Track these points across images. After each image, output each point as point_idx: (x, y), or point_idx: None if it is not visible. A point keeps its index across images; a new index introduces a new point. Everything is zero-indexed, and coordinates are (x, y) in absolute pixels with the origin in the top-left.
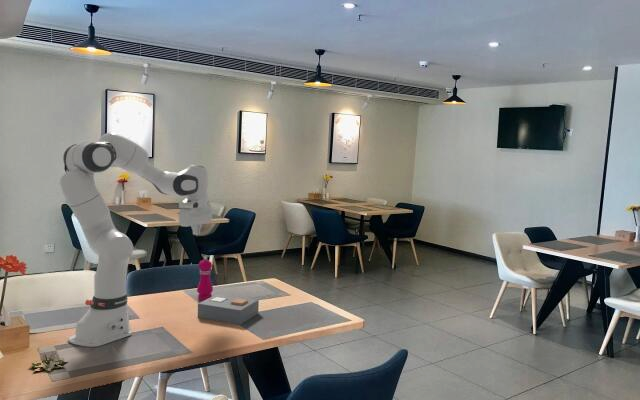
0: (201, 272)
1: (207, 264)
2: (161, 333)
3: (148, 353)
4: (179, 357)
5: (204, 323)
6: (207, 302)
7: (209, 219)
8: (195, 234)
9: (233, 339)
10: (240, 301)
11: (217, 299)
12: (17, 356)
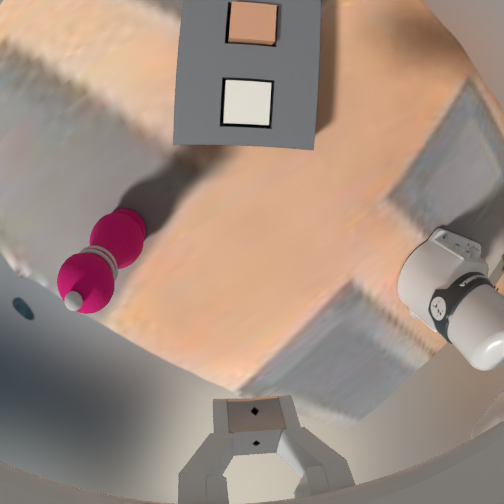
0: (115, 274)
1: (93, 267)
2: (421, 175)
3: (487, 150)
4: (486, 92)
5: (336, 106)
6: (290, 125)
7: (8, 493)
8: (288, 399)
9: (397, 11)
10: (259, 14)
11: (251, 104)
12: None
